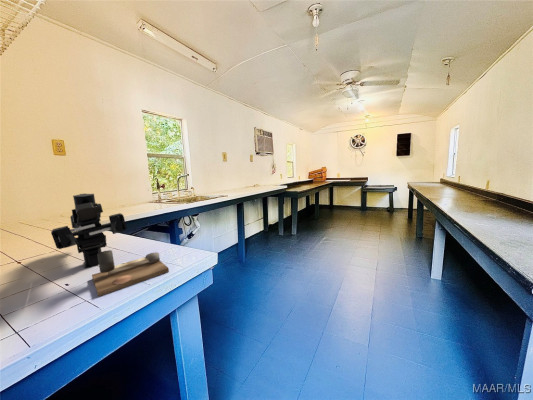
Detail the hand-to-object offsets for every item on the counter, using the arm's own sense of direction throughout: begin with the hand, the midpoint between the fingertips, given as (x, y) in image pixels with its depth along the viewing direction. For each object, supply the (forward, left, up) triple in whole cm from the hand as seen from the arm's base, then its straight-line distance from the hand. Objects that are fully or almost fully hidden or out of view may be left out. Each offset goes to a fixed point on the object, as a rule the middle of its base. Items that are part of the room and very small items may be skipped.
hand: (95, 237), depth 66 cm
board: (-2, +8, -16) cm, 18 cm away
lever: (-4, +9, -15) cm, 18 cm away
